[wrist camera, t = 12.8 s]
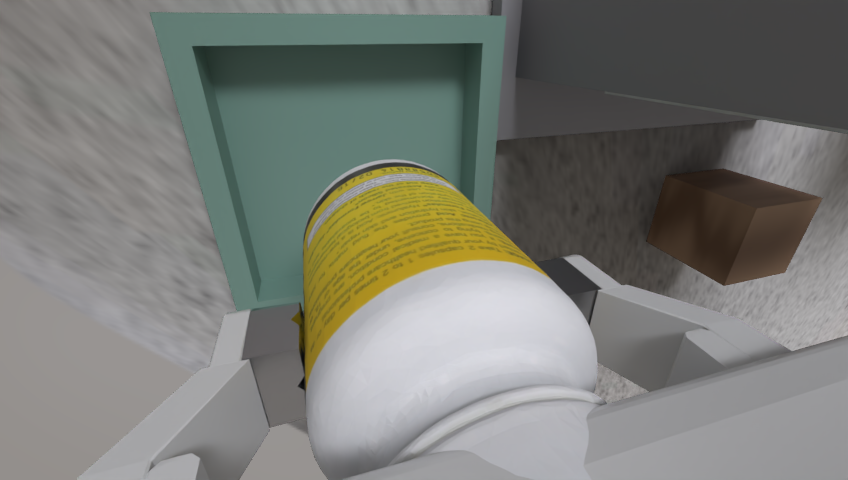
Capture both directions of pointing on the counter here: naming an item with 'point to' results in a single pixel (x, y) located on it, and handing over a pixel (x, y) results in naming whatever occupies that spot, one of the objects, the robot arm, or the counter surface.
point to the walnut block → (730, 224)
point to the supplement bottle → (436, 334)
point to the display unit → (671, 64)
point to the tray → (323, 119)
